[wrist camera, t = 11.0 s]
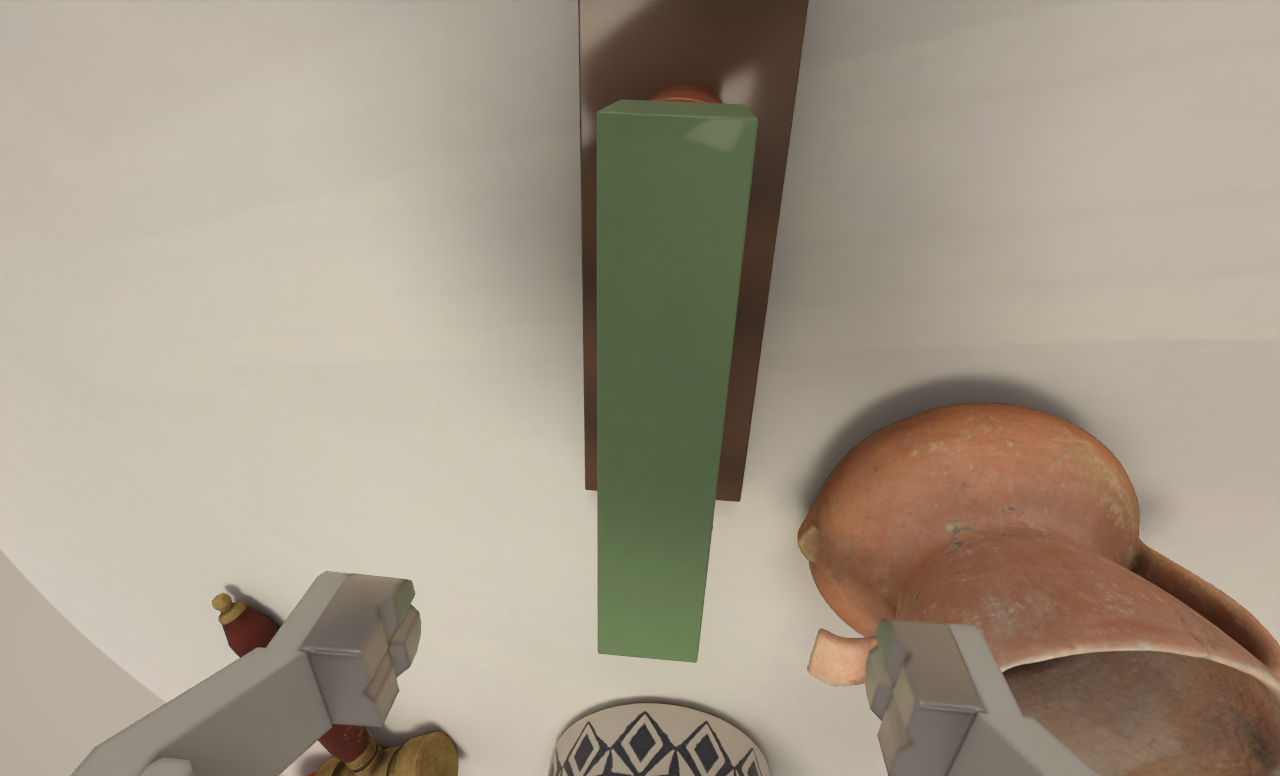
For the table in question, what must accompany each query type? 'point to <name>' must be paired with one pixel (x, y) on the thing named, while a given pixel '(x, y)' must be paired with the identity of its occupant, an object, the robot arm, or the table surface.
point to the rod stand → (705, 73)
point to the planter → (655, 745)
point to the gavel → (359, 764)
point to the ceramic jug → (1044, 590)
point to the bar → (664, 358)
